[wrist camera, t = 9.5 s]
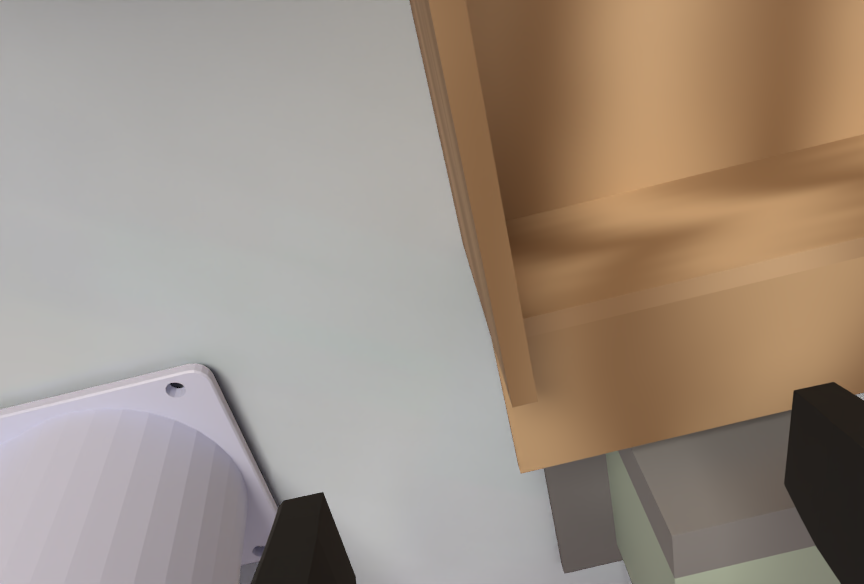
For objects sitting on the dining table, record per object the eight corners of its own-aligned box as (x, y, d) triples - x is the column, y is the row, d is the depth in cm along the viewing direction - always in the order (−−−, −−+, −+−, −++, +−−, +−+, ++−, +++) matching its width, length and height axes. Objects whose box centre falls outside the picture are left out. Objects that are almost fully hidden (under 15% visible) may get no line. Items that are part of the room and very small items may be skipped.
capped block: (617, 543, 27) (683, 715, 22) (595, 371, 22) (672, 536, 17) (757, 510, 27) (856, 675, 22) (762, 331, 22) (888, 484, 17)
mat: (561, 564, 28) (564, 573, 27) (526, 377, 23) (529, 385, 22) (806, 507, 28) (812, 515, 27) (824, 306, 23) (831, 314, 22)
